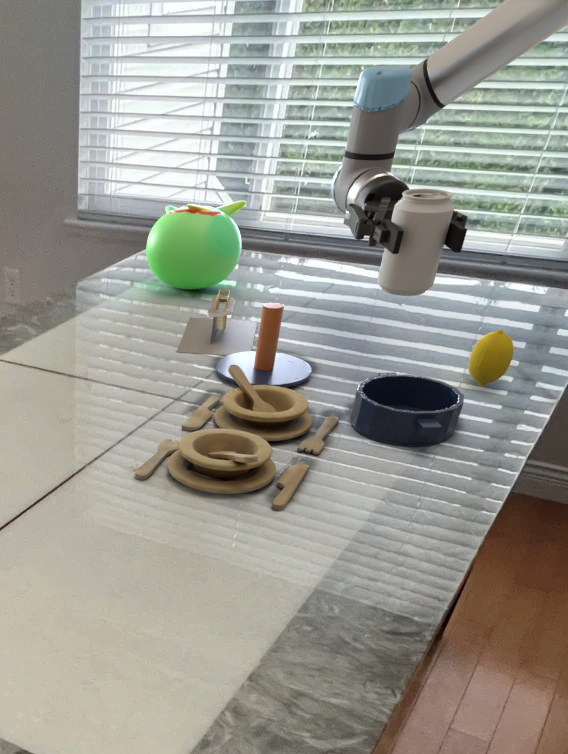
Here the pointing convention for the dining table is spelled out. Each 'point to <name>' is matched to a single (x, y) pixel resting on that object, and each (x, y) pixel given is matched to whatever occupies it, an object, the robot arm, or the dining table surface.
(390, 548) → the dining table surface
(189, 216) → the toy bird
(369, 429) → the pan
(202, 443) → the tableware set
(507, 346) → the lemon
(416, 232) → the can
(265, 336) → the pan lid
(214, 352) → the platform
